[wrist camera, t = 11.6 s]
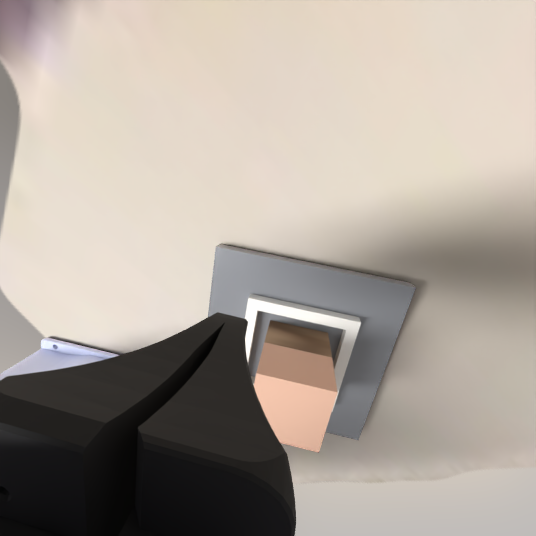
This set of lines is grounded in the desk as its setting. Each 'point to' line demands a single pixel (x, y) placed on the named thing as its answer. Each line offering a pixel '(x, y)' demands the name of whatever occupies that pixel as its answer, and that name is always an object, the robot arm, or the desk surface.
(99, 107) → the desk surface
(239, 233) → the desk surface
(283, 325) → the brick stack
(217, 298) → the base plate
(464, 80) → the desk surface
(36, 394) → the robot arm
